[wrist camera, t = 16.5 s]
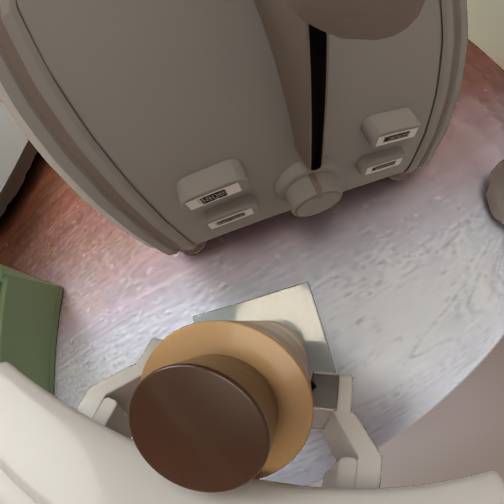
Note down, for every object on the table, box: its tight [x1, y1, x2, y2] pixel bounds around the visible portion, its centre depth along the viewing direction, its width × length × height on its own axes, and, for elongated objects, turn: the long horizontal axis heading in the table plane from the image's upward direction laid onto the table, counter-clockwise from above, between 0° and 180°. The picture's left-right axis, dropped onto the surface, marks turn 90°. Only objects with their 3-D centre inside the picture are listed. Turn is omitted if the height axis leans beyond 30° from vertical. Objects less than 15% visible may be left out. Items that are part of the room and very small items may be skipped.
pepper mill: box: [128, 320, 314, 493], centre depth 11 cm, size 5×5×13 cm
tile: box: [193, 282, 336, 380], centre depth 18 cm, size 8×8×1 cm
